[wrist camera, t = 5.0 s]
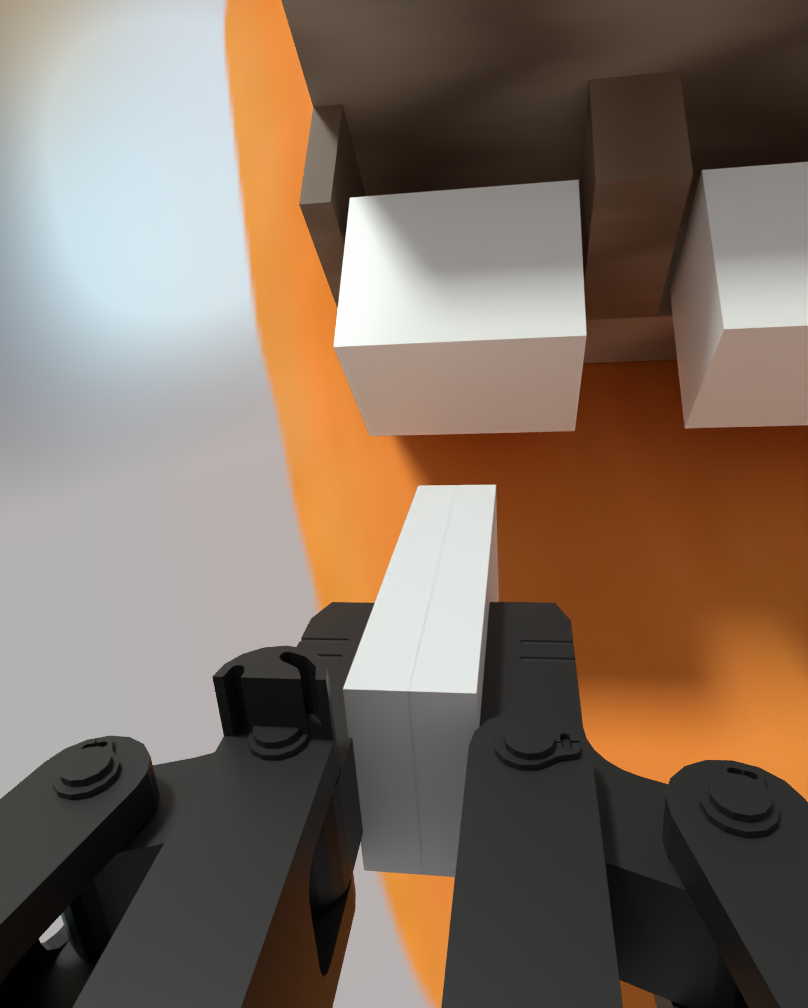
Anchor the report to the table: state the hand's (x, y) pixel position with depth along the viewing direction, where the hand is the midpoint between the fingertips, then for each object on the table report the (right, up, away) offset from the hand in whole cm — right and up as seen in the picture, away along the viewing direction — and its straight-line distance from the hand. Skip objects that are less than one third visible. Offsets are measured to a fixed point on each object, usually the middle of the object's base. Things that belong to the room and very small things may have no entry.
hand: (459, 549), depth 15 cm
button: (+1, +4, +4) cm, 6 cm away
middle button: (+8, +5, +3) cm, 10 cm away
